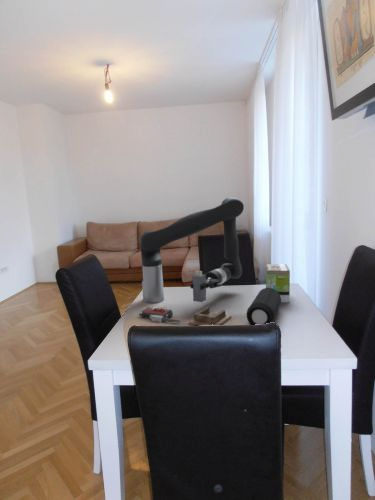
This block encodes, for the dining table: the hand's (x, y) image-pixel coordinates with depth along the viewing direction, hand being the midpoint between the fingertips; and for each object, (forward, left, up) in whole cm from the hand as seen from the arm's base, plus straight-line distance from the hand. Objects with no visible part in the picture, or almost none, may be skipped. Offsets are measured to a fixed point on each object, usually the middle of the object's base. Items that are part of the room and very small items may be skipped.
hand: (196, 286), depth 148 cm
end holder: (+10, -7, -11) cm, 17 cm away
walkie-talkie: (-9, -12, -12) cm, 19 cm away
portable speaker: (+28, +4, -11) cm, 31 cm away
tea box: (+24, +33, -11) cm, 42 cm away
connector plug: (0, +3, -7) cm, 7 cm away
